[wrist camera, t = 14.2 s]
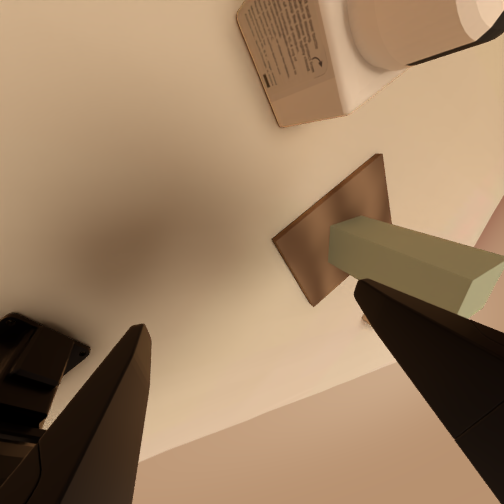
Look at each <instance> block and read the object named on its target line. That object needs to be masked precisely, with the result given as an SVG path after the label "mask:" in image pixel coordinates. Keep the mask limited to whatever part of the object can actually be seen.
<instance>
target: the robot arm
mask: <svg viewBox="0 0 504 504" xmlns="http://www.w3.org/2000/svg"><path fill="white" fill-rule="evenodd" d="M354 297H355V299H356V301H357V303H358V304H359V306H360V308H361V309H362V311H363V313H364V314H365V316H366V318H367V319H368V321H369V323H370V324H371V326H372V327H373V329H374V330H375V332H376V333H377V335H378V336H379V337H380V339H381V340H382V341H383V343H384V344H385V346H386V347H387V348H388V350H389V351H390V352H391V354H392V355H393V356H394V358H395V359H396V361H397V362H398V363H399V365H400V366H401V367H402V369H403V370H404V371H405V373H406V374H407V376H408V377H409V378H410V380H411V381H412V382H413V384H414V385H415V387H416V388H417V389H418V391H419V392H420V393H421V395H422V396H423V397H424V399H425V400H426V401H427V403H428V404H429V406H430V407H431V408H432V410H433V411H434V412H435V414H436V415H437V416H438V418H439V419H440V421H441V422H442V423H443V425H444V426H445V427H446V429H447V430H448V432H449V433H450V434H451V435H452V437H453V438H454V439H455V441H456V443H457V444H458V446H459V447H460V448H461V450H462V451H463V452H464V454H465V455H466V456H467V458H468V459H469V461H470V462H471V463H472V465H473V466H474V467H475V469H476V470H477V471H478V473H479V474H480V476H481V477H482V478H483V480H484V481H485V482H486V484H487V485H488V487H489V488H490V489H491V491H492V492H493V493H494V495H495V496H496V498H497V499H498V500H499V501H500V503H501V504H504V333H503V332H500V331H498V330H495V329H493V328H490V327H487V326H485V325H482V324H480V323H477V322H475V321H473V320H469V319H467V318H465V317H463V316H460V315H458V314H455V313H453V312H450V311H448V310H445V309H443V308H440V307H438V306H435V305H433V304H431V303H428V302H426V301H423V300H421V299H418V298H416V297H413V296H411V295H408V294H406V293H403V292H401V291H398V290H396V289H394V288H391V287H389V286H386V285H384V284H381V283H379V282H376V281H374V280H371V279H369V278H365V279H360V280H359V281H358V282H357V285H356V288H355V291H354ZM9 320H14V321H15V322H10V321H9ZM90 350H91V349H90V347H88V346H86V345H84V344H82V343H80V342H78V341H76V340H73V339H71V338H69V337H67V336H65V335H63V334H60V333H58V332H56V331H54V330H52V329H50V328H47V327H45V326H43V325H41V324H39V323H37V322H34V321H32V320H30V319H28V318H26V317H24V316H21V315H19V314H13V313H12V314H8V315H6V316H4V317H3V318H2V319H0V504H132V499H133V493H134V486H135V480H136V473H137V467H138V460H139V454H140V447H141V441H142V434H143V428H144V421H145V415H146V408H147V402H148V395H149V387H150V369H151V337H150V335H149V332H148V330H147V328H146V325H145V324H138V325H133V326H131V327H130V328H129V330H128V331H127V332H126V333H125V335H124V336H123V337H122V338H121V339H120V341H119V342H118V343H117V344H116V346H115V347H114V348H113V349H112V351H111V352H110V353H109V354H108V356H107V357H106V358H105V359H104V360H103V362H102V363H101V364H100V365H99V367H98V368H97V369H96V370H95V372H94V373H93V374H92V375H91V376H90V378H89V379H88V380H87V381H86V383H85V384H84V385H83V386H82V388H81V389H80V390H79V391H78V393H77V394H76V395H75V396H74V397H73V399H72V400H71V401H70V402H69V404H68V405H67V406H66V407H65V409H64V410H63V411H62V412H61V414H60V415H59V416H58V417H57V418H56V420H55V421H54V422H53V423H52V425H51V426H50V427H49V428H48V430H44V429H42V427H43V424H44V422H45V419H46V417H47V416H48V413H49V410H50V407H51V405H52V402H53V399H54V396H55V394H56V391H57V388H58V385H59V384H60V382H61V379H62V376H64V375H65V374H66V373H67V372H69V371H70V370H71V369H72V368H74V367H75V366H76V365H77V364H79V363H80V362H81V361H82V360H84V359H85V358H86V357H87V356H88V355H89V353H90ZM82 352H84V353H82Z"/></svg>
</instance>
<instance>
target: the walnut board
mask: <svg viewBox="0 0 504 504" xmlns="http://www.w3.org/2000/svg"><path fill="white" fill-rule="evenodd" d="M359 216H364V217H368V218H371V219H375V220H378V221H382V222H385V223H389V224H392V222H391V214H390V207H389V199H388V191H387V184H386V176H385V169H384V161H383V154H375V155H374V156H373V157H371V158H370V159H369V160H368V161H367V162H365V163H364V164H363V165H362V166H361V167H359V168H358V169H357V170H356V171H354V172H353V173H352V174H351V175H350V176H348V177H347V178H346V179H345V180H343V181H342V182H341V183H340V184H339V185H337V186H336V187H335V188H334V189H332V190H331V191H330V192H329V193H328V194H326V195H325V196H324V197H323V198H322V199H320V200H319V201H318V202H317V203H315V204H314V205H313V206H312V207H311V208H309V209H308V210H307V211H306V212H304V213H303V214H302V215H301V216H300V217H298V218H297V219H296V220H295V221H293V222H292V223H291V224H290V225H289V226H287V227H286V228H285V229H284V230H283V231H281V232H280V233H279V234H278V235H276V236H275V237H274V238H273V239H272V240H273V242H274V244H275V246H276V247H277V249H278V251H279V252H280V254H281V256H282V257H283V259H284V261H285V262H286V264H287V266H288V267H289V269H290V271H291V272H292V274H293V276H294V278H295V279H296V281H297V283H298V284H299V286H300V288H301V289H302V291H303V293H304V294H305V296H306V298H307V299H308V301H309V303H310V304H311V305H312V306H313V307H314V306H316V305H317V304H318V303H319V302H320V301H321V300H322V299H323V298H324V297H326V296H327V295H328V294H329V293H330V292H331V291H332V290H333V289H335V288H336V287H337V286H338V285H339V284H340V283H341V282H342V281H344V280H345V279H346V278H347V277H348V276H349V274H348V273H346V272H344V271H342V270H341V269H339V268H337V267H336V266H334V265H332V264H330V263H329V262H328V254H329V238H330V226H331V225H334V224H337V223H340V222H343V221H346V220H349V219H352V218H355V217H359Z"/></svg>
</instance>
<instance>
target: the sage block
mask: <svg viewBox="0 0 504 504" xmlns="http://www.w3.org/2000/svg"><path fill="white" fill-rule="evenodd" d="M328 262H329V263H330V264H332V265H334V266H336V267H337V268H339V269H341V270H342V271H344V272H346V273H348V274H349V275H351V276H353V277H354V278H356V279H358V280H360V279H365V278H369V279H371V280H374V281H376V282H379V283H381V284H384V285H386V286H389V287H391V288H394V289H396V290H398V291H401V292H403V293H406V294H408V295H411V296H413V297H416V298H418V299H421V300H423V301H426V302H428V303H431V304H433V305H435V306H438V307H440V308H443V309H445V310H448V311H450V312H453V313H455V314H458V315H460V316H463V317H465V318H467V319H468V318H469V317H471V316H472V315H474V314H475V313H477V312H478V311H479V310H481V309H482V308H483V307H484V305H485V303H486V301H487V299H488V297H489V296H490V294H491V292H492V290H493V288H494V286H495V284H496V282H497V281H498V279H499V277H500V275H501V273H502V271H503V269H504V256H502V255H499V254H495V253H492V252H488V251H484V250H481V249H477V248H474V247H470V246H467V245H463V244H460V243H456V242H453V241H449V240H446V239H442V238H439V237H435V236H431V235H428V234H424V233H421V232H417V231H414V230H410V229H407V228H403V227H400V226H396V225H393V224H389V223H385V222H382V221H378V220H375V219H371V218H368V217H364V216H359V217H355V218H352V219H349V220H346V221H343V222H340V223H337V224H334V225H331V226H330V238H329V254H328Z"/></svg>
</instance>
